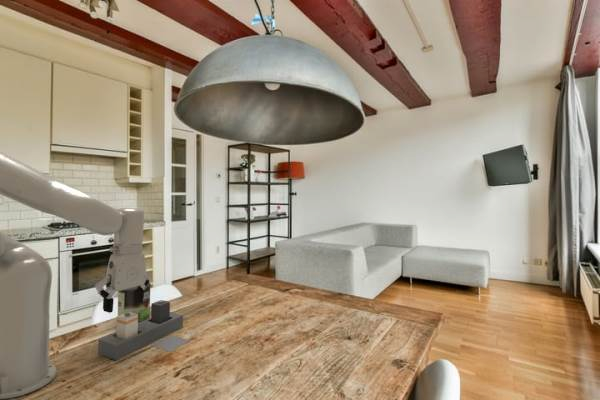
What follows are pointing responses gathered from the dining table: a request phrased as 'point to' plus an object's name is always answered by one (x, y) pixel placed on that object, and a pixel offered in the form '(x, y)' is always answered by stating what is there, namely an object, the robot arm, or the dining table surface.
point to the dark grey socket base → (138, 337)
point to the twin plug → (160, 311)
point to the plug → (127, 325)
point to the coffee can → (134, 303)
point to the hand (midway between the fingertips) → (123, 306)
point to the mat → (171, 343)
